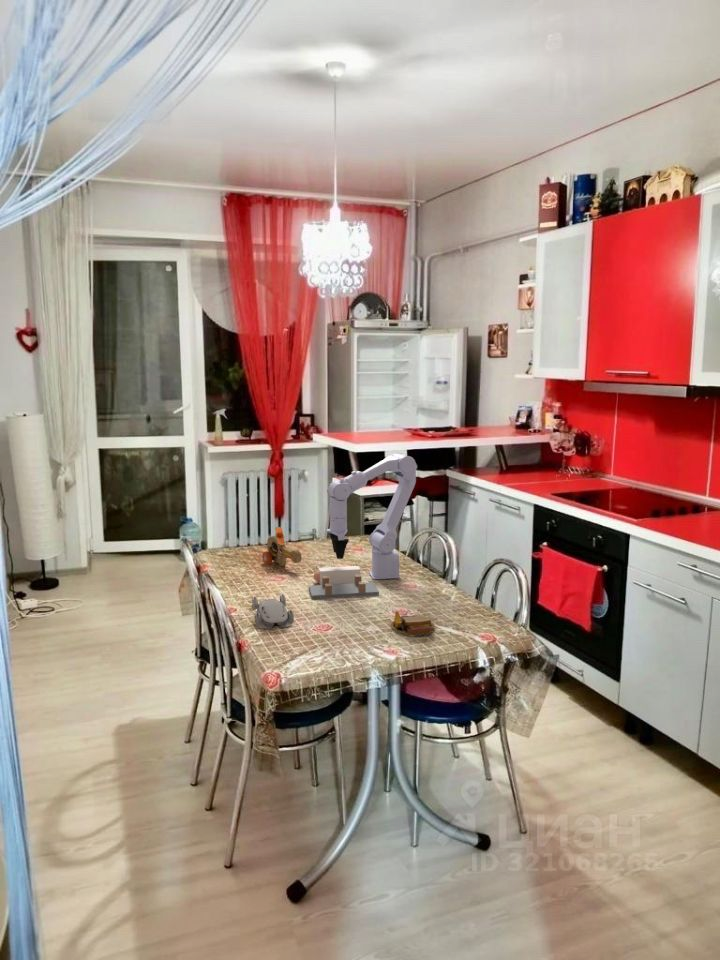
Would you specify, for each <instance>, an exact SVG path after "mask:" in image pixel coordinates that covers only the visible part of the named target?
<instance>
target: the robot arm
mask: <svg viewBox="0 0 720 960" xmlns="http://www.w3.org/2000/svg"><path fill="white" fill-rule="evenodd" d="M417 469H418V464H417V463H416V459H414V457H412V456H409V455H404V454H403V453H399V452H395V453H392V454H391V455H388V456H386V457H385V458H384V459H383V460H380V461H379V462H377V463H375V464H374V465H372V466H370V467H368V468H367V469H365V470H364V471H359V470H357V471H356V470H353V471H351V472H350V473H351V474H350V475H347V476H345V477H340V478H339V481H332V482H331V483H329V486H328V487H327V489H326V492H327V494H328V496H329V502H330V503H329V528H327V529H326V533H328V536H329V537H330V539H331V544H332V550H333V552H334V553H335V556H336V559H337V560H341V559H342V560H343V559H344V557H345V552H346V549H347V545H348V543H349V542H350V539H349V538H345V535H346V534H347V532H348V522H347V521H348V513H347V511H348V503H347V502H348V501H347V500H348V498H349V497H350V495H351V494H353V493H355V492H356V491H358V490H360V489H362V488H364V487H366V485H367V483H368V481H369V480H371V479H374V478H376V477H378V476H380V475H382V474H384V473H386V472H393V473H394V474H395V475H396V478H397V480H398V484H397V486H396V489H395V492H394V493H393V496H392V499H391V501H390V503H389V505H388V507H387V510H386V512H385V515H384V517H383V519H382V522H381V523H379V524H378V525H376V527H375V529H374V530H373V532H371V534H370V535H369V538H368V542H369V544H370V546H372V548H371V549H372V550H371V571H369V574H370V576H371V578H372V579H373V580H387V579H399V578H400V557H399V556H400V555H399V552H398V550H395V548H396V545H397V543H396V541H397V537H398V532H397V528H398V525H399V523H400V521H401V518H402V516H403V513H404V511H405V508H406V507H407V504H408V502H409V499H410V498H411V495H412V492H413V490H414V488H415V487H416V486H415V485H416V483H417V475H416V474H417Z"/></svg>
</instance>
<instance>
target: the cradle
mask: <svg viewBox="0 0 720 960" xmlns="http://www.w3.org/2000/svg"><path fill="white" fill-rule="evenodd" d="M354 578H355V583H345V584H331V583H330V584H329V577H328V576H322V585H320V584H317V585H308V590H309V594H310V597H311V600H319V599H320V600H322V599H323V598H324V599H339V598H355V597H371V596H374V597H376V596H380V591H379V589H378V587H377V586H376V584H375V582H374V581H373V582H372V581H371V582H365V581H362V575H361V573H360V574H356V575H354Z"/></svg>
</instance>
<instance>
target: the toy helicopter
mask: <svg viewBox="0 0 720 960" xmlns="http://www.w3.org/2000/svg"><path fill="white" fill-rule="evenodd" d="M274 530H275V534H274V535H273V536H269V537H268V538H267V544H266V548H267V551H264V552H263V553H262V555H261V558H262V562H263V564H264V565H267V564H268V565H271V564H272V563H273V562H274V563H276V564H279V566H280V567H283V566H286V565H287V559H289V560H291V562H292V563H294V564H299V563H301V562H302V553H301V551H300V550H299V549H291V548H289V547H287V546H286V544H285V535H284V532H283V530H284V529H283V528H282V527H280V526H276V527H275V529H274Z"/></svg>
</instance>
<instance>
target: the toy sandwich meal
mask: <svg viewBox="0 0 720 960" xmlns="http://www.w3.org/2000/svg"><path fill="white" fill-rule="evenodd" d="M390 626H391V629H393V630H394V631H395V632H396V633H398V634H400V635H403V634H404V636H410V635H418V636H422V634H424V635H427V634H430V633H431V632H433V631H434V629H435V624H434V622H432V619H430V618H429V617H427V615H407V614H406V615H404V614H403V615H400V613H399V611H395V615H394V620H393V621H392V622H391V623H390ZM430 631H431V632H430ZM426 633H427V634H426Z"/></svg>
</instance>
